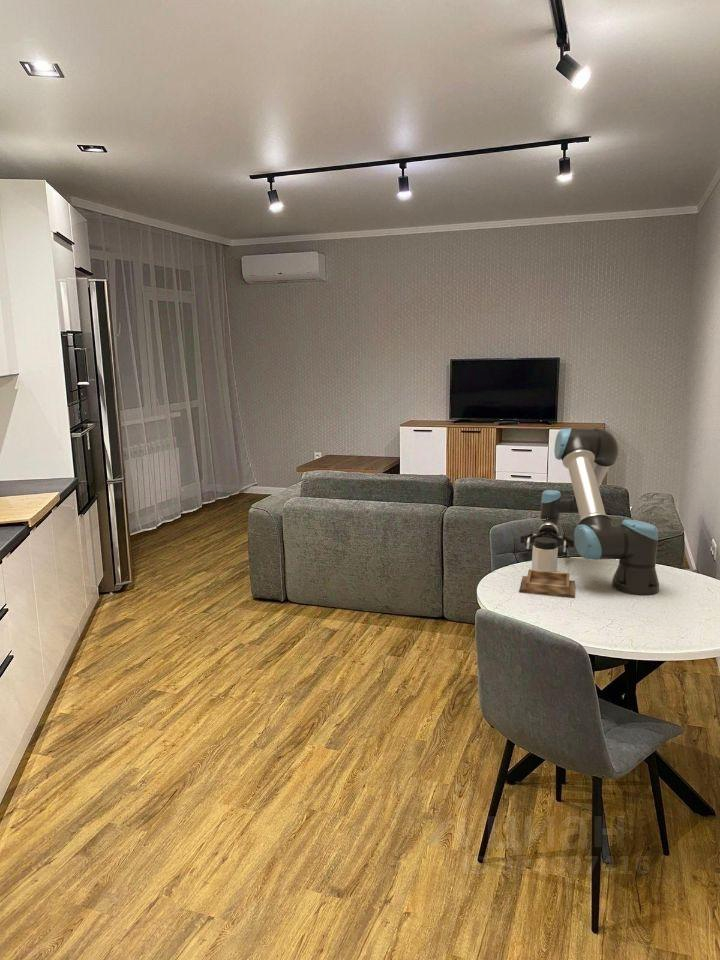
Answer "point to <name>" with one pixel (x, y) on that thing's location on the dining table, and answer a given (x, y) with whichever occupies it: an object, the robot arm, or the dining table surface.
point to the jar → (545, 554)
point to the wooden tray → (548, 584)
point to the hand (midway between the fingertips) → (546, 547)
